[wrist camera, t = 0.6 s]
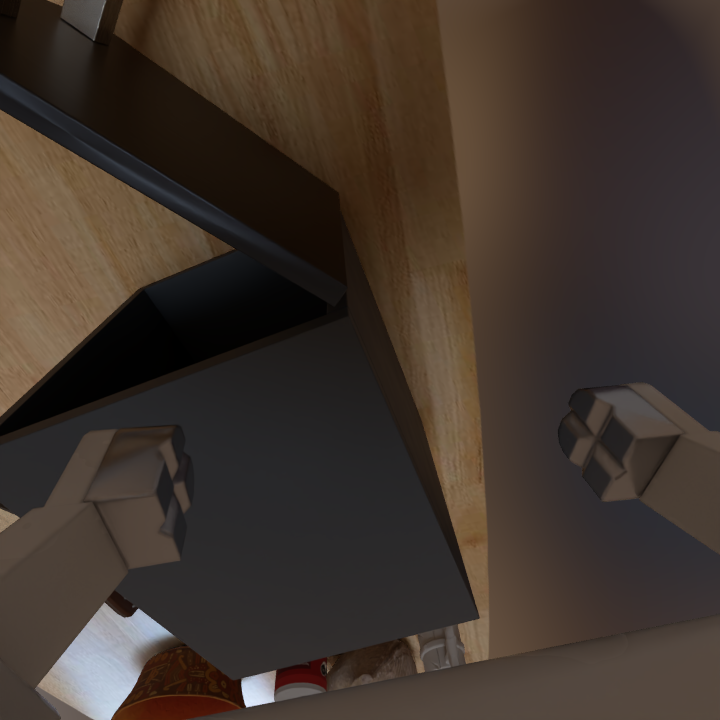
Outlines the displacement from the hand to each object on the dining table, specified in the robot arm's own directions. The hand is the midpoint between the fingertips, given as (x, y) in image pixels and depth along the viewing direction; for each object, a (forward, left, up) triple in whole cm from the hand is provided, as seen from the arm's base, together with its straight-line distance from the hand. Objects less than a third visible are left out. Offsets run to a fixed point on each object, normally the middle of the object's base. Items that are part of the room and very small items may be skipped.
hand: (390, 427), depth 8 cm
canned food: (+62, -32, -31) cm, 76 cm away
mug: (+67, -10, -31) cm, 74 cm away
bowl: (+64, -54, -31) cm, 89 cm away
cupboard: (+14, -11, -30) cm, 35 cm away
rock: (+78, -26, -31) cm, 87 cm away
